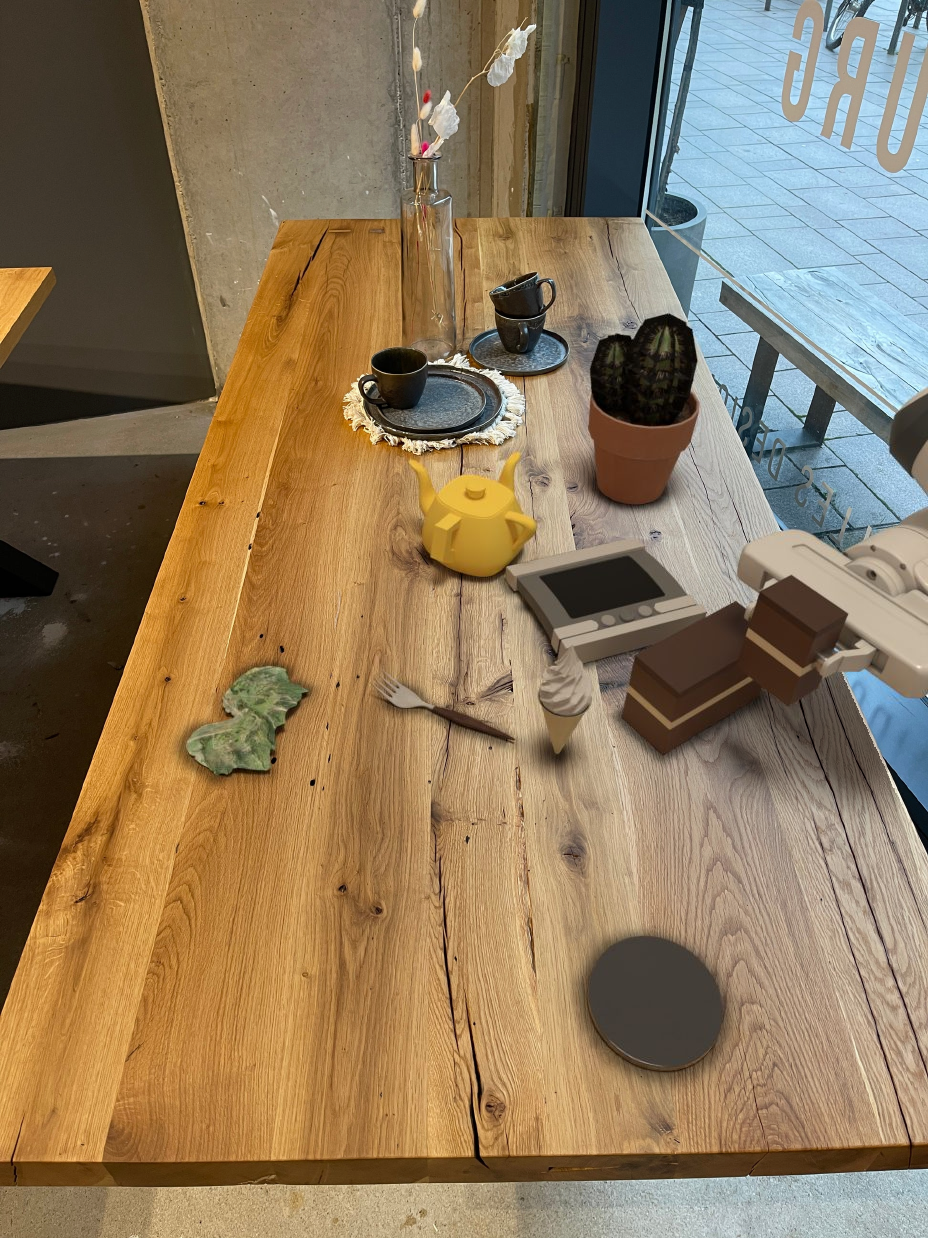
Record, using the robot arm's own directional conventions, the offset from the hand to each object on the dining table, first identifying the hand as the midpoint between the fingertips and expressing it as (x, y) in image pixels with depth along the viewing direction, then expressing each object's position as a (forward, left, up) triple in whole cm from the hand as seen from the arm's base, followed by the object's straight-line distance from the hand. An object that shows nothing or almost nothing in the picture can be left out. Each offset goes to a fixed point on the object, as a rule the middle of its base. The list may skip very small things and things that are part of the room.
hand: (784, 641), depth 78 cm
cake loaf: (+7, -5, -17) cm, 19 cm away
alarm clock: (+22, -14, -17) cm, 31 cm away
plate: (-2, +26, -17) cm, 31 cm away
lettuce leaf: (+44, +21, -17) cm, 52 cm away
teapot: (+40, -15, -17) cm, 45 cm away
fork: (+28, +10, -17) cm, 34 cm away
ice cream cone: (+16, +8, -17) cm, 25 cm away
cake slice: (0, -1, -5) cm, 5 cm away
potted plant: (+29, -38, -17) cm, 50 cm away
